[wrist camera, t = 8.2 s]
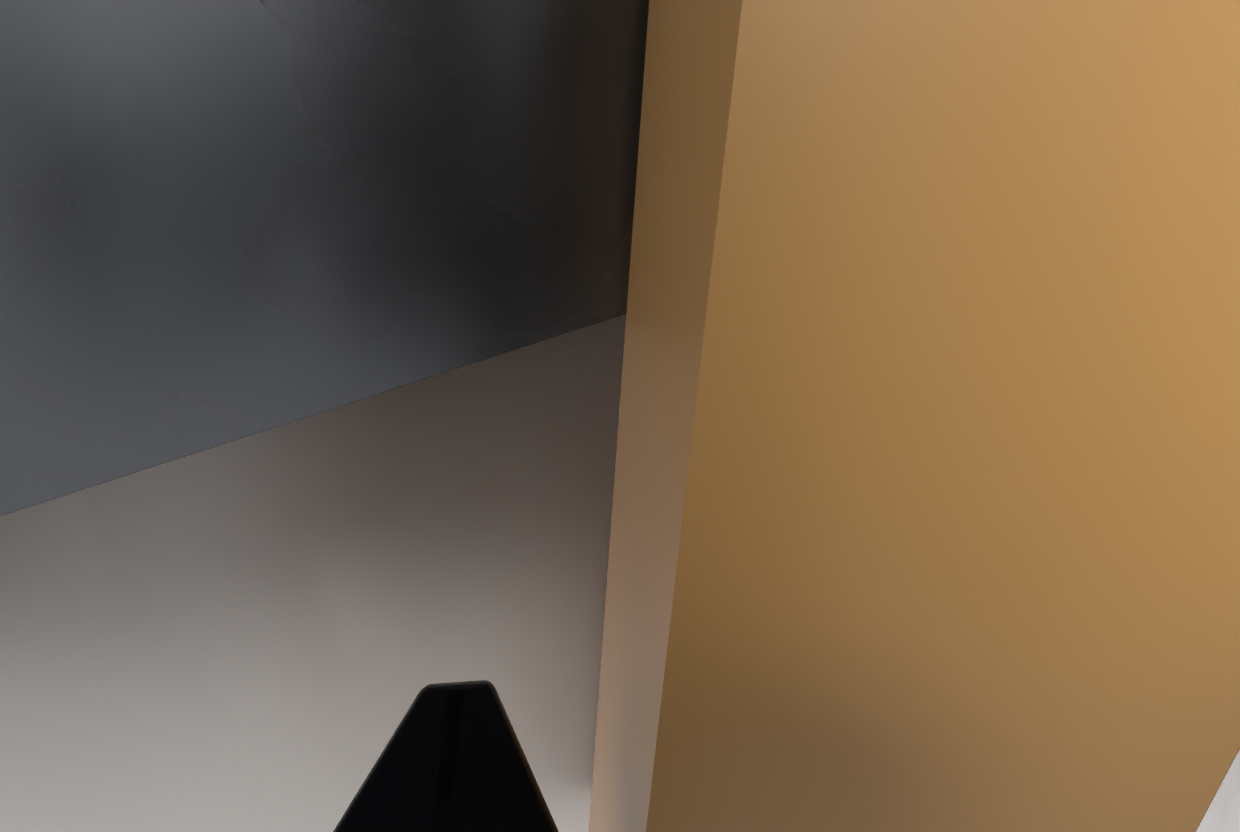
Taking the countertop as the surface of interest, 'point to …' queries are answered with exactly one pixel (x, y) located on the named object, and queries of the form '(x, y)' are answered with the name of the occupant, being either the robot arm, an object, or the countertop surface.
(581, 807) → the countertop surface
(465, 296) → the label panel
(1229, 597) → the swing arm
